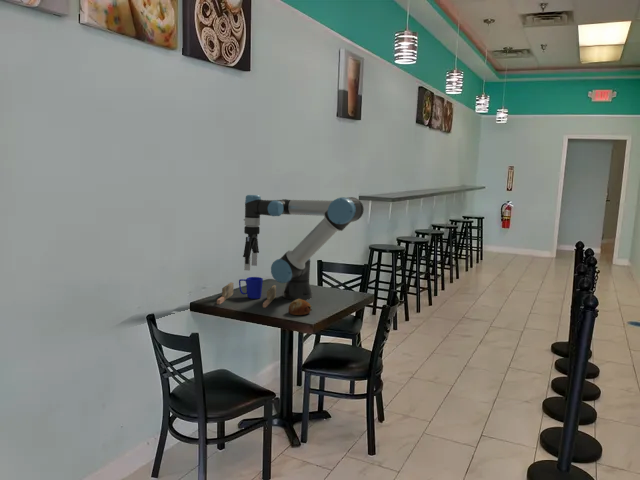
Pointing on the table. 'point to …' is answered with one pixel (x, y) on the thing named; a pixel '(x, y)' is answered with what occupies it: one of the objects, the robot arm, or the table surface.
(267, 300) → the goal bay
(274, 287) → the tunnel walls
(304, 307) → the bread roll
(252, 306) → the table surface
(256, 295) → the mug
